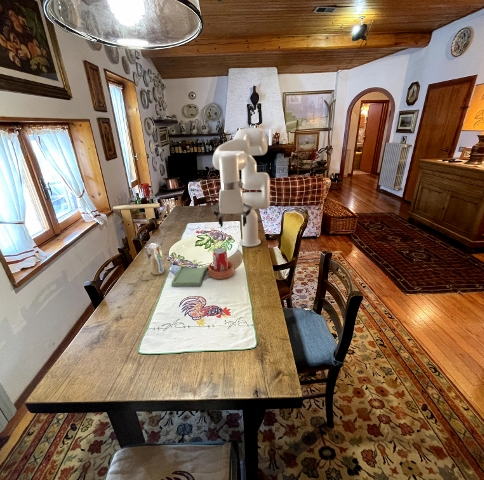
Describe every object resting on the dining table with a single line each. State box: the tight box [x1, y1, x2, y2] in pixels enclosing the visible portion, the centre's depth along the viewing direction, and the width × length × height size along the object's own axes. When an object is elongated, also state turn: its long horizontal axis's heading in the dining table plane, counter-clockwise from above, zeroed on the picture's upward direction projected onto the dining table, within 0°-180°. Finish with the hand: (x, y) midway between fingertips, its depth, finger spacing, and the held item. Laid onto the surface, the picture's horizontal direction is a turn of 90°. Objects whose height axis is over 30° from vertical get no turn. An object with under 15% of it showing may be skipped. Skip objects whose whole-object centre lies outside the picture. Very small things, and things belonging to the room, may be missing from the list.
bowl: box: [207, 260, 235, 280], centre depth 125 cm, size 12×12×4 cm
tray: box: [171, 265, 208, 287], centre depth 124 cm, size 17×13×2 cm
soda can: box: [212, 247, 229, 272], centre depth 123 cm, size 7×7×12 cm
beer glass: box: [145, 242, 165, 276], centre depth 127 cm, size 7×7×15 cm
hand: (232, 225), depth 108 cm, fingers open, 9 cm apart
